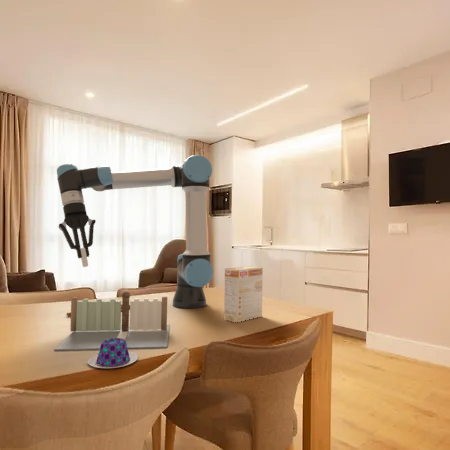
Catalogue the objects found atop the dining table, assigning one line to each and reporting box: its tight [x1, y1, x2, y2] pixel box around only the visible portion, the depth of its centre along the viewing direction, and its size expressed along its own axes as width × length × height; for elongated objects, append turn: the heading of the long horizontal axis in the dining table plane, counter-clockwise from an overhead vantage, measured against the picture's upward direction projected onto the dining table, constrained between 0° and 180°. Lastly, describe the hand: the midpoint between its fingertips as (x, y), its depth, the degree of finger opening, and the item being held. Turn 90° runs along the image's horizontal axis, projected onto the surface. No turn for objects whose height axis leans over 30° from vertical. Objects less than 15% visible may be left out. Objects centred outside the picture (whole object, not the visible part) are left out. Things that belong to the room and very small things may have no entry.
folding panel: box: [69, 296, 122, 333], centre depth 109 cm, size 15×2×10 cm, turn 98°
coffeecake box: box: [223, 265, 263, 324], centre depth 132 cm, size 15×7×20 cm, turn 135°
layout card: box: [53, 324, 170, 352], centre depth 105 cm, size 30×23×1 cm
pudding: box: [87, 338, 139, 369], centre depth 86 cm, size 12×12×5 cm
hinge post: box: [121, 291, 131, 332], centre depth 110 cm, size 3×3×13 cm
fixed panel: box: [129, 296, 168, 331], centre depth 111 cm, size 12×2×11 cm, turn 98°
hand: (85, 266), depth 123 cm, fingers closed
